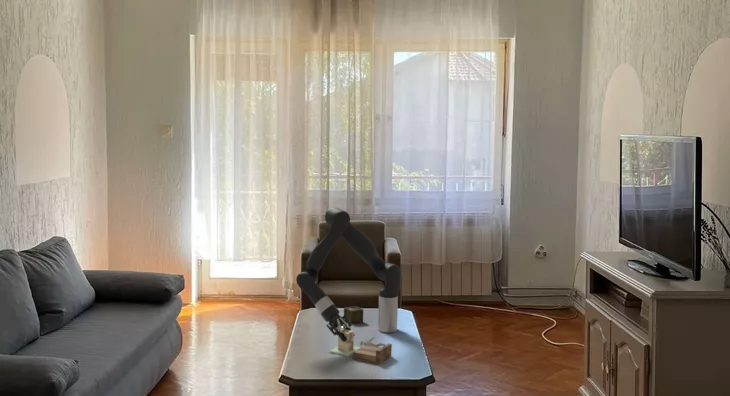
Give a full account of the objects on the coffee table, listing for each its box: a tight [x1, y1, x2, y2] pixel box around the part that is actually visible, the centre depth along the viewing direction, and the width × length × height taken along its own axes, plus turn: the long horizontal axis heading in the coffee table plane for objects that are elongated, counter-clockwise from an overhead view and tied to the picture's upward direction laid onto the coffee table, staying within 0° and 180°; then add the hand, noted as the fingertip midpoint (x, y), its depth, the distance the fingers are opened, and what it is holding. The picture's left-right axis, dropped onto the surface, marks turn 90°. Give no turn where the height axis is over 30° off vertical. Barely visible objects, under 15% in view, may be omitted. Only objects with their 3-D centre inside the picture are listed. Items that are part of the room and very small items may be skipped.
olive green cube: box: [343, 305, 364, 325], centre depth 370 cm, size 7×7×7 cm
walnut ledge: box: [352, 343, 393, 365], centre depth 313 cm, size 12×12×6 cm
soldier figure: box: [359, 336, 388, 347], centre depth 324 cm, size 8×5×12 cm
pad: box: [328, 345, 362, 357], centre depth 322 cm, size 12×10×1 cm
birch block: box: [337, 329, 355, 352], centre depth 321 cm, size 5×5×8 cm
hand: (349, 338), depth 321 cm, fingers open, 6 cm apart
